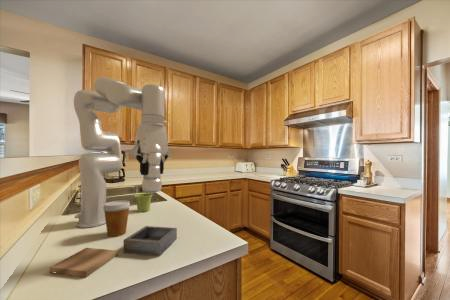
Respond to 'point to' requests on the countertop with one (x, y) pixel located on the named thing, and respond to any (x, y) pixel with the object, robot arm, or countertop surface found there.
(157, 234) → the tray
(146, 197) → the plant pot
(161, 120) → the robot arm
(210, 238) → the countertop surface
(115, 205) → the disposable coffee cup
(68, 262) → the walnut coaster
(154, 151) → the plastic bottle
